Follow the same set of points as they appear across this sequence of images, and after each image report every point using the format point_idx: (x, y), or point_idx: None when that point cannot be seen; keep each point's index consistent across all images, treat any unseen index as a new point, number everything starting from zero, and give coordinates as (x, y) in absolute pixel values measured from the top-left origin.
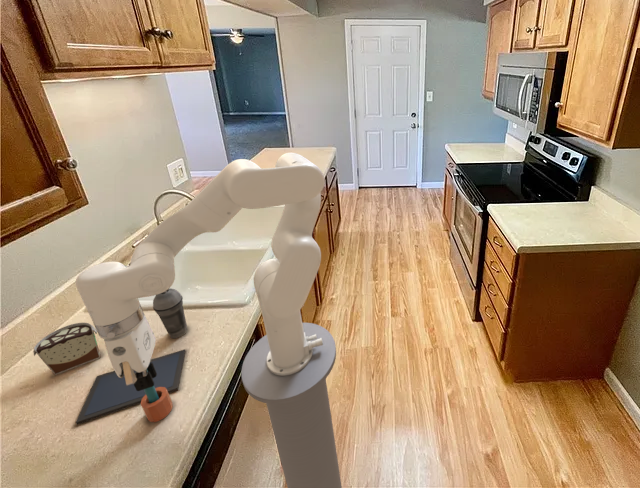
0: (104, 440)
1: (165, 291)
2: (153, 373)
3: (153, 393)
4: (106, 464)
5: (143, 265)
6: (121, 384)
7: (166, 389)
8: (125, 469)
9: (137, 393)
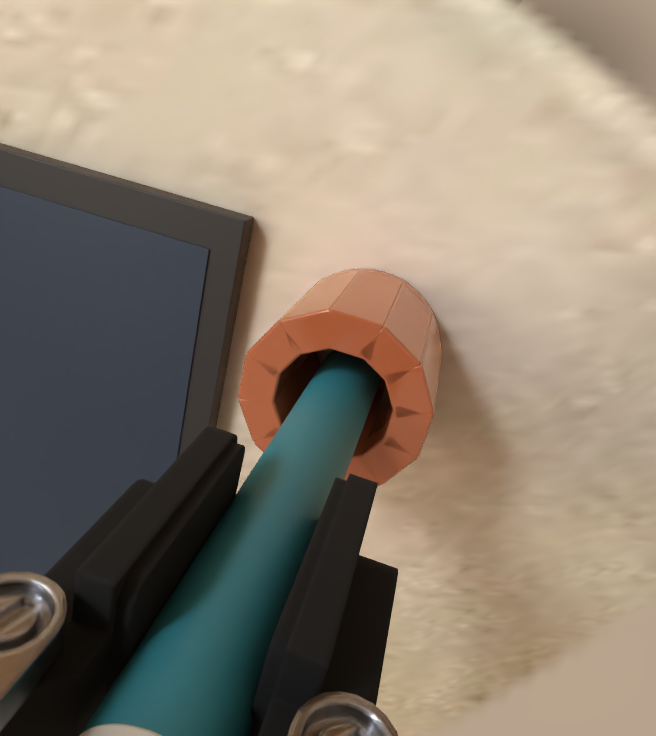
0: None
1: None
2: (220, 486)
3: (347, 430)
4: (522, 598)
5: None
6: (29, 489)
7: (315, 313)
8: (644, 544)
9: (143, 435)
